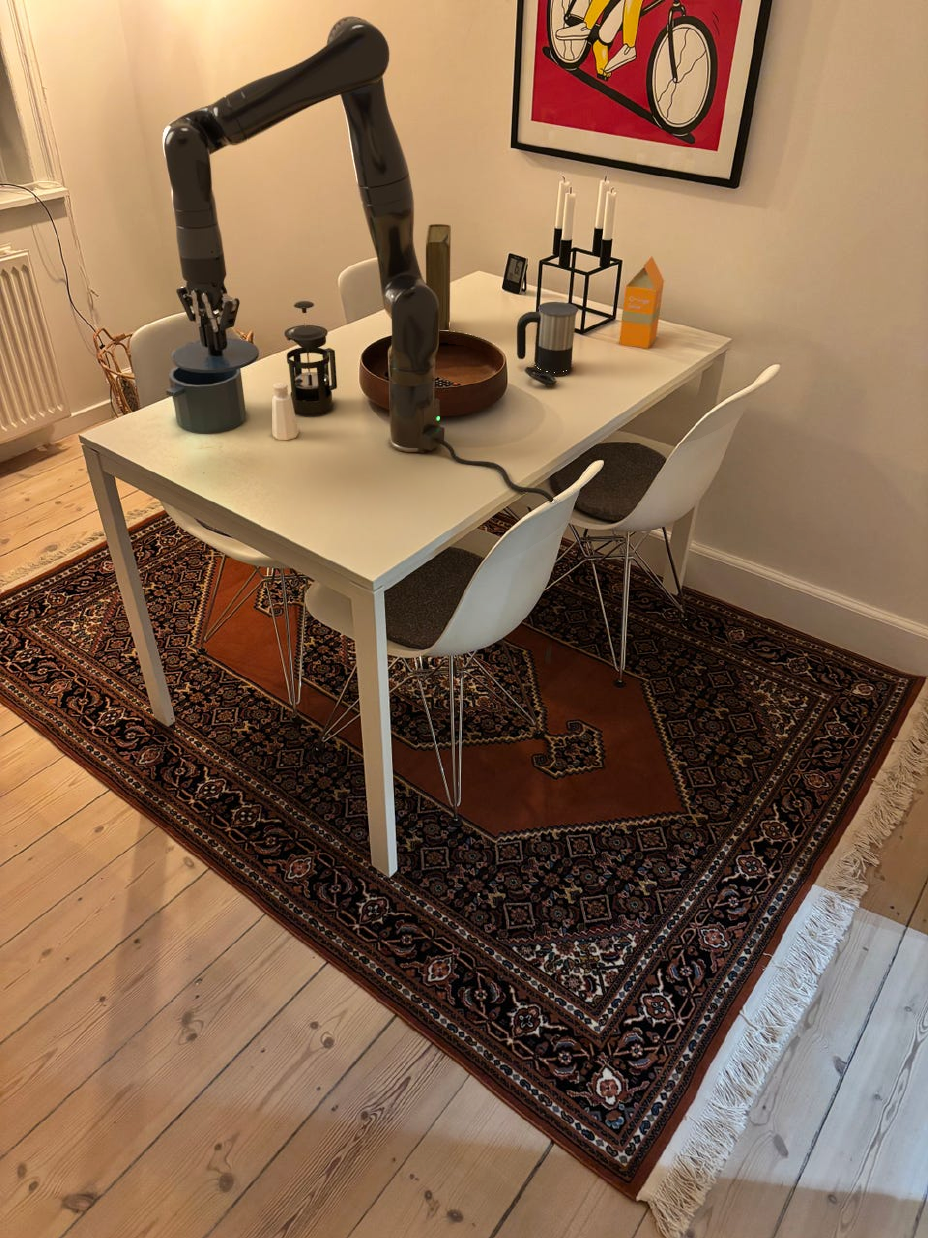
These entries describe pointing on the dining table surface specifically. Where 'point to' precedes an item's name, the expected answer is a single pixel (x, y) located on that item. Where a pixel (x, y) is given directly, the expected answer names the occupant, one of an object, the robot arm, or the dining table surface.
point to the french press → (310, 382)
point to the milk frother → (549, 340)
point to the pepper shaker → (283, 414)
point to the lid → (214, 354)
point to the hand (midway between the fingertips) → (214, 347)
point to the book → (439, 269)
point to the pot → (207, 400)
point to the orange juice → (642, 307)
